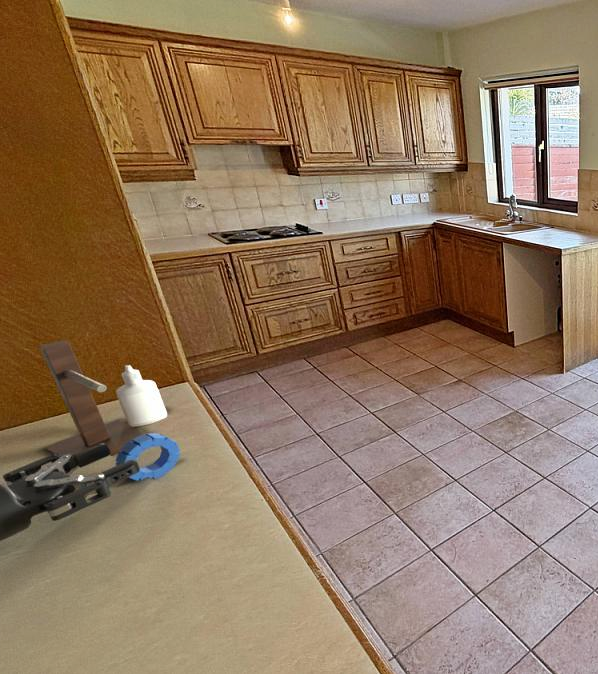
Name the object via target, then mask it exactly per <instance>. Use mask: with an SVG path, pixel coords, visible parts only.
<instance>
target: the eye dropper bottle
mask: <svg viewBox="0 0 598 674" xmlns="http://www.w3.org/2000/svg"><path fill="white" fill-rule="evenodd" d="M124 370H125V371H124V372H122V373H121V375H120V376H121V378H122V380H123V382H124V384H123V385H121V386H120V387H117V389H116V390H115V394H116V398H117V400H118V402H119V404H120V407H121V409H122V411H123V415H124V417H125V419H126V421H127V424H128V425H130V426H132V427H134V428H137V427H143V426H147V425H150V424H153V423H154V424H155V423H157V422H159V421H162V420H164V419H166V418H167V417H168V411H167V409H166V407H165V404H164V401H163V399H162V396H161V394H160V390H159V388H158V386H157V384H156V382H155V381H153V380H151V379H143V378H142V375H141V373H140V370H139V369H133V367H132V366H131V365H130V364H128V365H125V366H124Z"/></svg>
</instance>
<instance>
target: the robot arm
mask: <svg viewBox="0 0 598 674" xmlns="http://www.w3.org/2000/svg"><path fill="white" fill-rule="evenodd" d="M110 453H111V452H110V450H109V448H108V445H106V444H104V443H101V444H98V445H96V446H93V447H91V448H88V449H86V450H84V451H81V452H79V453H76V454H74V455H71V454H67V455H64V456H61V455H60V453H55V454H53V453H51V454H49V455H46V456H44V457H42V458H40V459H37V460H35V461H33V462H30V463H27V464H26V465H23V466H20V467H18V468H16V469H14V470H11V471H9V472H6V473H4V474H3V475H2V478H3V480H4V482H5V483H3V482H2V481H0V542H2V541H4V540H6V539H7V538H10V537H12V536H15V535H16V534H18V533H20V532H23V531H25V530H27V529H28V528H29V527H30V526H31V525H32V518H33V517H34V516H37V515H40V514H42V513H46V512H47V513H48V515H49V517H50V519H51V520H52V521H53V522H56V521H60V520H62V519H64V518H66V517H69V516H71V515H72V514H75V513H77V512H79V511H81V510H84V509H86V508H88V507H90V506H92V505H94V504H96V503H99V502H101V501H103V500H105V499H108V498H110V497H111V496H112V493H111V491H110V489H111V486H113V485H114V484H117V483H119V482H122V481H124V480H125V479H128V478H129V477H130V476H132V475H134V474H136V473H138V472H139V471H140V468H139V467H140V466H139V463H138V460H136V461H135V460H133V459H131V460H128V461H126V462H124V463H122V464H120V465H117V466H116V465H115V466H113V467H111V468H109V469H106V470H104V471H102V472H101V473H97V474H92V475H87V476H84V475H81V474H78V475H72V476H71V474H73V473H74V472H75V471H76V470H77V469H78V467H79V468H84V467H86V466H88V465H90V464H93V463H95V462H97V461H100V460H102V459H105V458H107V457H109V456H110ZM42 466H43V467H42ZM88 496H90V497H88ZM87 497H88V498H87Z"/></svg>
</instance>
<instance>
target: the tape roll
mask: <svg viewBox="0 0 598 674" xmlns="http://www.w3.org/2000/svg"><path fill="white" fill-rule="evenodd" d="M132 441H133V442H131V441H128V442H127V443H126V444H125V445H124V446H123V447H122V448H121V449H120V450H122V451H119V452H118V454H116V455H117V456H116V459H115V466H117V465H120V464H122V463H124V462H126V461H128V460H131V459H133V460H135V461H138V457H140V455H141V454H142V453H143V452H144V451H146V450H149V449H150V448H153V447H154V448H155V447H160V450H161V452H160V454H159V456H158V458H157V459H156V460H155V461H154V462H153V463H151V464H148V465H146V466H141V467H140V466H139V468H140V471H139V472H138V473H136V474H134V475H132V476H130V477H128V478H129V479H131V480H133V481H136V482H138V481H142V480H144V479H147V478H149V479H151V480H152V479H153V480H156V479H158V478H161V477H163V476H164V475H166V473H169V472H170V471H171V470H172V469H173V468H174V467H175V466H176V463H178V461H179V458H180V455H181V450H180V447H179V445H178V443H177V441H175V440H173V439H172V438H170V437H167V436H166V435H164V434H161V433H158V432H157V433H154V432H153V433H146V435H144V434H143V435H141V436H138V437H136V438H133V439H132Z"/></svg>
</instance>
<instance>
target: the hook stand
mask: <svg viewBox="0 0 598 674" xmlns="http://www.w3.org/2000/svg"><path fill="white" fill-rule="evenodd" d="M70 343H71V342H70V341H67V340H65V339H62V340H58V341H55V342H50V343H46V344H43V345H39V346H38V348H39V350H40V352H41V354H42V357H43V359H44V360H45V363H46V365H47V367H48V369H49V371H50V373H51V376H52V378H53V380H54V382H55V384H56V387H57V389H58V391H59V393H60V395H61V397H62V399H63V402H64V404H65V405H66V409H67V410H68V412H69V414H70V416H71V419H72V421H73V423H74V425H75V427H76V429H77V431H78V433H79V434H78V435H75V436H73V437H70V438H68V439H64V440H62V441H59V442H56V443H54V444H51V445H49V446H46V447H45V450H47V451H48V452H50V453H51V454H55V453H60V455H61V456H64V455H67V454H71V455H74V454H76V453H79V452H81V451H84V450H86V449H88V448H91V447H93V446H96V445H98V444H101V443H104V444H106V445H108V448H109V450H110V452H111V453H110V455H109V456H111V457H112V456H115V455H118V452H119V451H122V450H120V449H121V448H122V447H123V446H124V445H125V444H126V443H127V442H128V441H131V442H133V441H132V439H133V438H136V437H138V436H141V435H143V434H144V435H146V434H147V433H146V432H144V431H141V430H139V428H137V427H132V426H130V425H129V424H128V423H126V422H124V421H122V420H120V419H117V420H114V421H111V422H109V423H105V421H104V418H103V417H102V414H101V412H100V410H99V407H98V405H97V404H96V401H95V399H94V396H93V393H92V391H91V390H93V391H95V392H97V393H104V392H106V391H107V389H108V388H107V387H108V386H106V385H105V384H103V383H101V382H98V381H96V380H94V379H92V378H89V377H87V376H85V375H84V374H83V373H84V372H83V371H82V369H81V367H80V364H79V362H78V360H77V357H76V355H75V353H74V350H73V348H72V345H71V344H70ZM90 389H91V390H90Z"/></svg>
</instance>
